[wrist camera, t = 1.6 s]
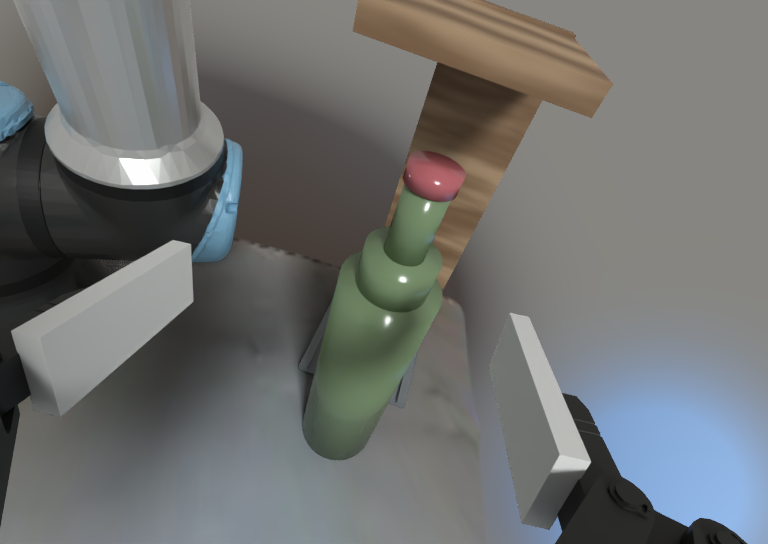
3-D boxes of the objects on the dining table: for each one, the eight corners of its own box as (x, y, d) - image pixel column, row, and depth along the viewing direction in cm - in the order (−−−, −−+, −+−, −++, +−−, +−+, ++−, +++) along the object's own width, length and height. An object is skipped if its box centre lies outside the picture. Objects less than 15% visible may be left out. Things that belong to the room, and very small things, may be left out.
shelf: (406, 413, 44) (615, 80, 20) (292, 370, 44) (360, -13, 20) (428, 311, 57) (572, 32, 32) (340, 278, 57) (417, -24, 33)
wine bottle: (288, 418, 40) (341, 142, 20) (340, 380, 45) (428, 126, 24) (333, 476, 37) (450, 223, 17) (384, 429, 42) (525, 187, 22)
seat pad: (402, 408, 44) (405, 404, 44) (298, 368, 45) (299, 364, 44) (420, 332, 54) (422, 328, 53) (333, 300, 54) (334, 295, 53)
